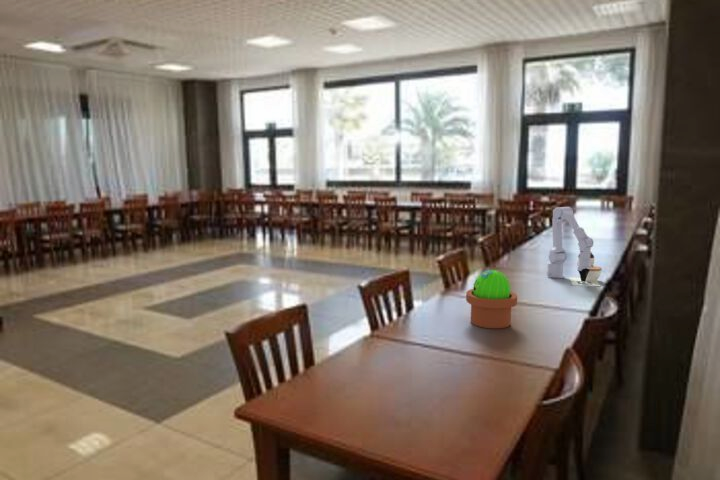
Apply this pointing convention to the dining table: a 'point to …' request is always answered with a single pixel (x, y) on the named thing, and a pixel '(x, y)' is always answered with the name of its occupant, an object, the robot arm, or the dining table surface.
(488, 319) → the potted cactus
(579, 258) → the spread jar
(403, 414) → the dining table surface
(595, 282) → the placemat
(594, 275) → the lidded jar
